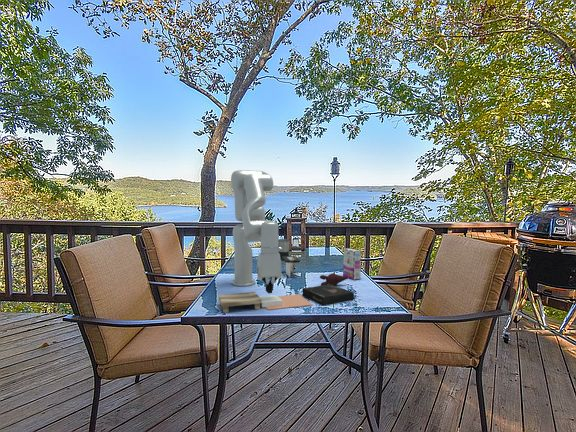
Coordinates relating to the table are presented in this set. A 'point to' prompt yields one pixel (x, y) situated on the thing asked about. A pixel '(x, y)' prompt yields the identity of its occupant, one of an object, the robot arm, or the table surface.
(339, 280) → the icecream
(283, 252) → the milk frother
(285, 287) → the table surface
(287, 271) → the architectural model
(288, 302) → the mat
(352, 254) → the candy bar box
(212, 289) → the table surface
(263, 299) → the coaster
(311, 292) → the portable cd player
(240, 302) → the serving board
